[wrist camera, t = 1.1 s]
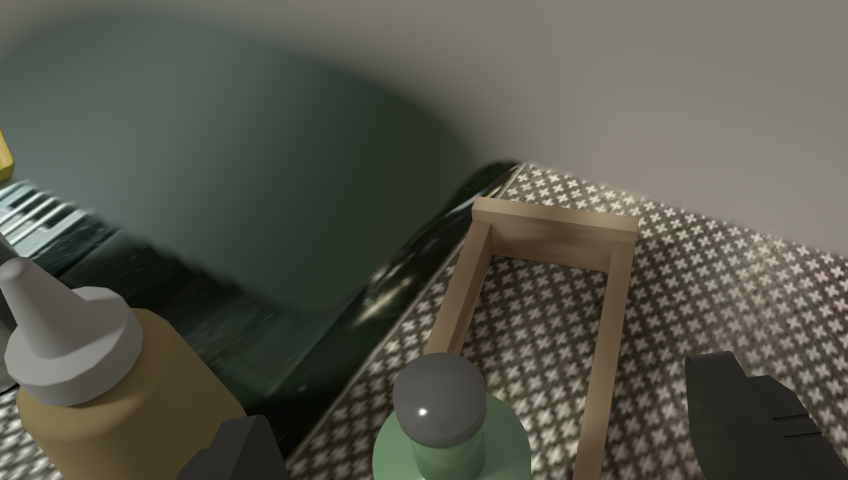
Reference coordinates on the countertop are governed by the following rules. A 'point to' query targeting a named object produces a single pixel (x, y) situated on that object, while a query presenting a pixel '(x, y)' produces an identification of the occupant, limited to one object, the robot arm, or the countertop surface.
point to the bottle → (449, 427)
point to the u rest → (555, 244)
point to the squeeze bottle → (106, 381)
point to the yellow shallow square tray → (5, 160)
